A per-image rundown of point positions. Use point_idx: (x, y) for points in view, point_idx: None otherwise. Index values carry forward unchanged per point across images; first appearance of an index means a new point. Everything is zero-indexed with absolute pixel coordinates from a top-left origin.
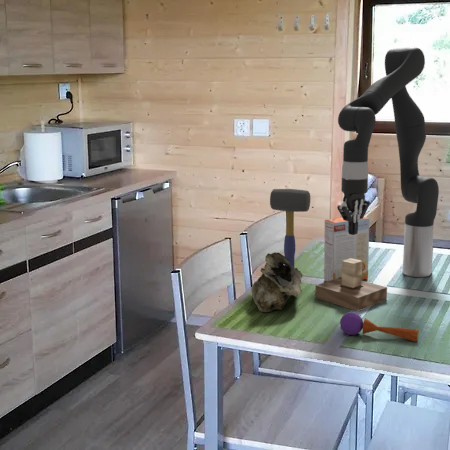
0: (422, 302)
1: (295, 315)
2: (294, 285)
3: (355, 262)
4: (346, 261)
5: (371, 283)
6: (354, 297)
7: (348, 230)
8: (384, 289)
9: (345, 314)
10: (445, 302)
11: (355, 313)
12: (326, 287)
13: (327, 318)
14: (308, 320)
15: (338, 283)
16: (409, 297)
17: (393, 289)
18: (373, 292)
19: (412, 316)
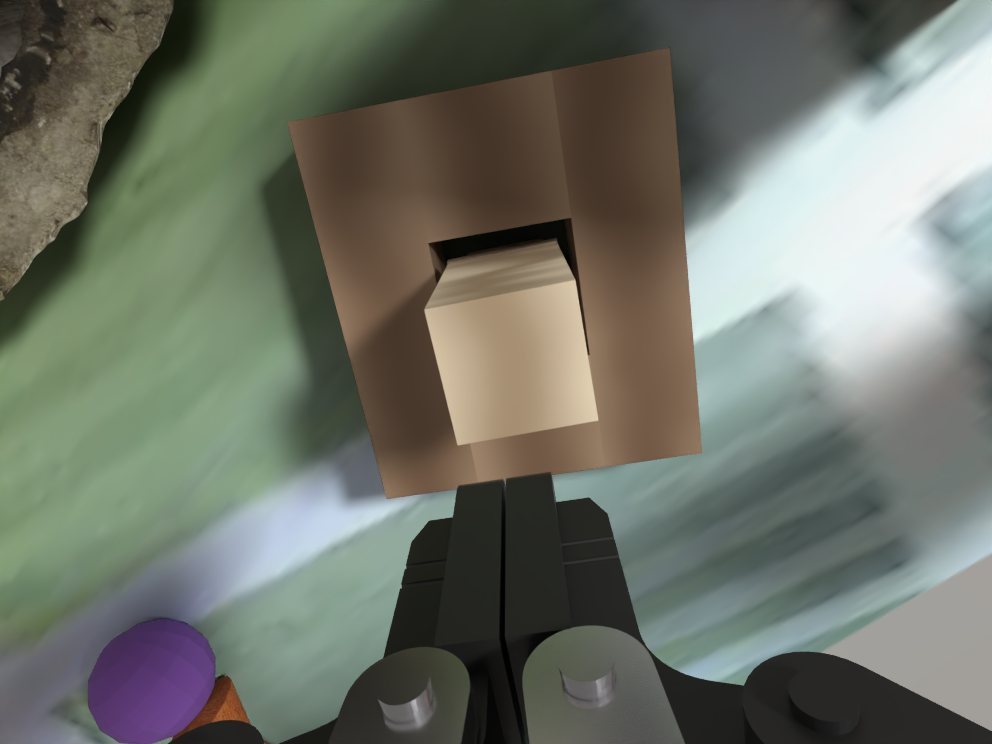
0: (804, 547)
1: (34, 320)
2: (23, 144)
3: (498, 426)
4: (447, 349)
5: (684, 333)
6: (380, 469)
7: (411, 553)
8: (669, 452)
9: (97, 702)
10: (897, 607)
11: (141, 733)
12: (332, 215)
13: (181, 451)
14: (69, 419)
15: (477, 189)
16: (825, 455)
17: (892, 292)
18: None
19: None
